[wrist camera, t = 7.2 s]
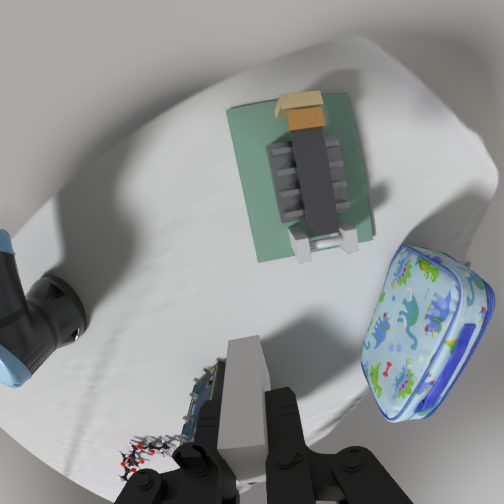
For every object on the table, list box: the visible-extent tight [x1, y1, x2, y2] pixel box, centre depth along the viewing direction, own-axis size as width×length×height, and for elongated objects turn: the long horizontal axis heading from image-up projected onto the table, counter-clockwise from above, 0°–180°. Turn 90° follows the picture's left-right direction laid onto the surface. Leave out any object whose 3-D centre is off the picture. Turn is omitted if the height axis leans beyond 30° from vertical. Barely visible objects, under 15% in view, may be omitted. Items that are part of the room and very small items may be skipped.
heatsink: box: [265, 135, 350, 223], centre depth 38 cm, size 10×11×6 cm
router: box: [178, 361, 257, 485], centre depth 43 cm, size 8×18×20 cm, turn 48°
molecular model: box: [117, 438, 174, 482], centre depth 54 cm, size 25×12×16 cm, turn 126°
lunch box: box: [361, 245, 495, 422], centre depth 37 cm, size 26×11×21 cm, turn 170°
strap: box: [285, 107, 340, 238], centre depth 33 cm, size 4×16×2 cm, turn 12°
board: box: [226, 90, 373, 263], centre depth 37 cm, size 19×24×10 cm
